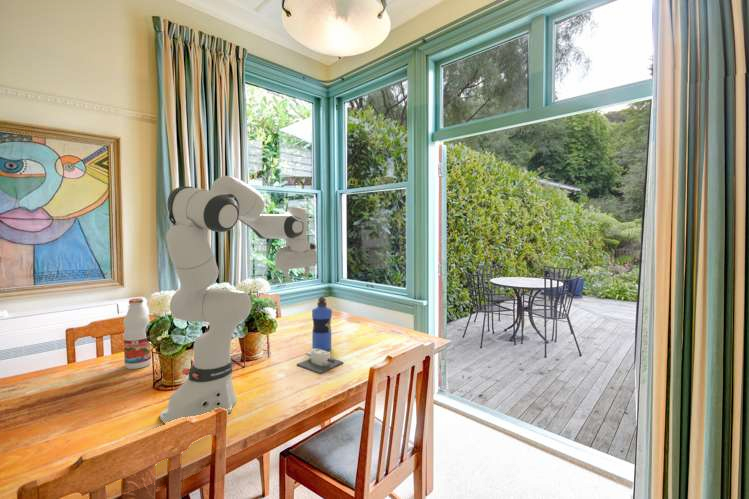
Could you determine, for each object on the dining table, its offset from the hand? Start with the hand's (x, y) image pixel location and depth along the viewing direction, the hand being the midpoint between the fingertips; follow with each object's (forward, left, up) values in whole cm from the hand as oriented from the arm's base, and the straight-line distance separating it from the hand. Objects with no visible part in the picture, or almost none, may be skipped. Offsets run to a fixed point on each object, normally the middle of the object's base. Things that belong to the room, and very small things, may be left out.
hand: (296, 278), depth 152 cm
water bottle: (+20, +5, -37) cm, 43 cm away
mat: (+6, -8, -37) cm, 38 cm away
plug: (+6, -8, -36) cm, 38 cm away
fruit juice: (-42, +51, -37) cm, 76 cm away
